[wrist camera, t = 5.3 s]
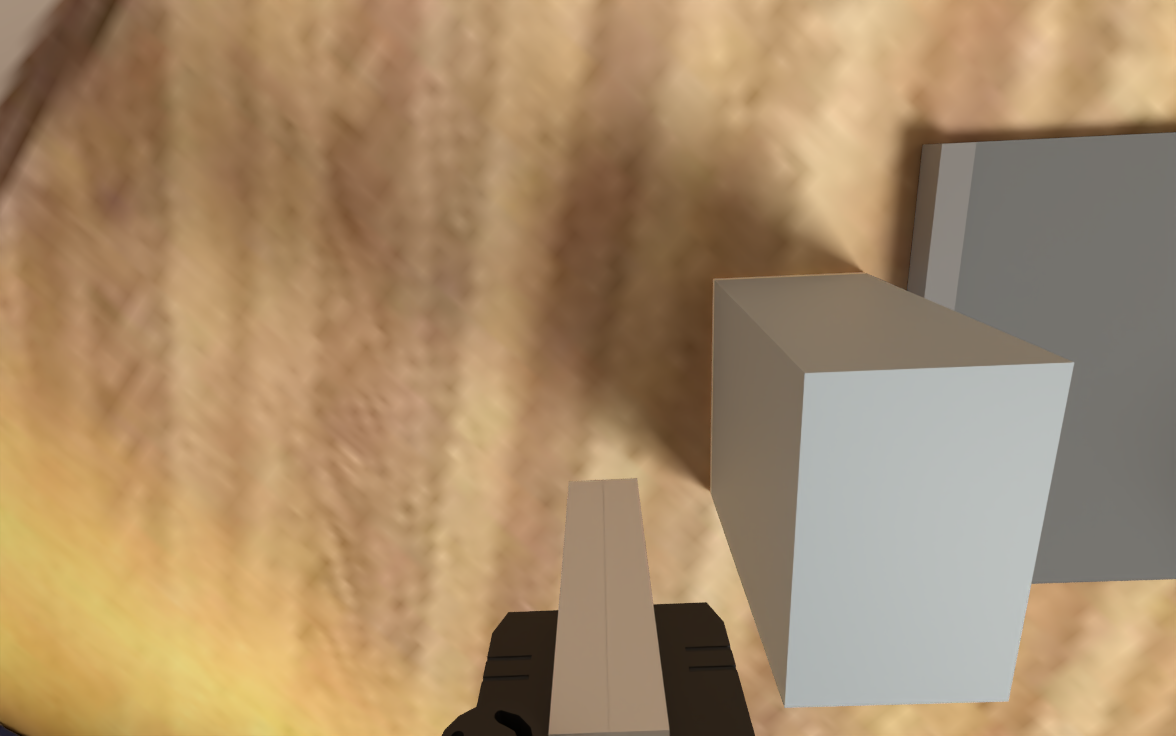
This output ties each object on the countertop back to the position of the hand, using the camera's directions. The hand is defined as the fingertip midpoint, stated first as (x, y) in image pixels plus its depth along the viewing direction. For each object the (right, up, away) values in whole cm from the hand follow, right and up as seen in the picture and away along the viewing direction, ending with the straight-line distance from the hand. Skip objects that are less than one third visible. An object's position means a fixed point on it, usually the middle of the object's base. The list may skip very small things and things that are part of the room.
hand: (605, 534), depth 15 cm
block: (+6, +3, +8) cm, 11 cm away
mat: (+17, +3, +8) cm, 20 cm away
